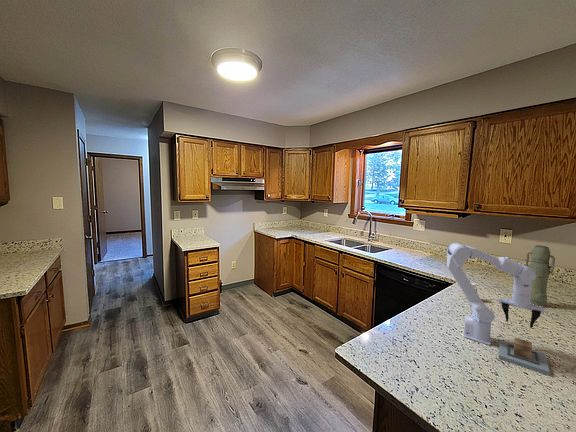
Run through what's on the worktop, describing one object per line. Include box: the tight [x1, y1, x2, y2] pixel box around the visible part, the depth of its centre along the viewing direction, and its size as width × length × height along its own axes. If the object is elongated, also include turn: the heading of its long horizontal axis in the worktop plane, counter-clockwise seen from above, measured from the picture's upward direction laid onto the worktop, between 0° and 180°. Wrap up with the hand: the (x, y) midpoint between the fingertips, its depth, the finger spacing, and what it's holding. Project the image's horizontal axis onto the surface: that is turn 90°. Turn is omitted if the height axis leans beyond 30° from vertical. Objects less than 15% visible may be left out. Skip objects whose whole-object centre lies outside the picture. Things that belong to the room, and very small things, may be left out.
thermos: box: [525, 244, 556, 307], centre depth 151 cm, size 9×12×35 cm
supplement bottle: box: [465, 281, 478, 300], centre depth 158 cm, size 6×6×10 cm
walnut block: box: [513, 337, 533, 360], centre depth 101 cm, size 5×5×5 cm
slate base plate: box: [498, 339, 550, 377], centre depth 101 cm, size 14×14×2 cm
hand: (518, 323), depth 110 cm, fingers open, 7 cm apart
